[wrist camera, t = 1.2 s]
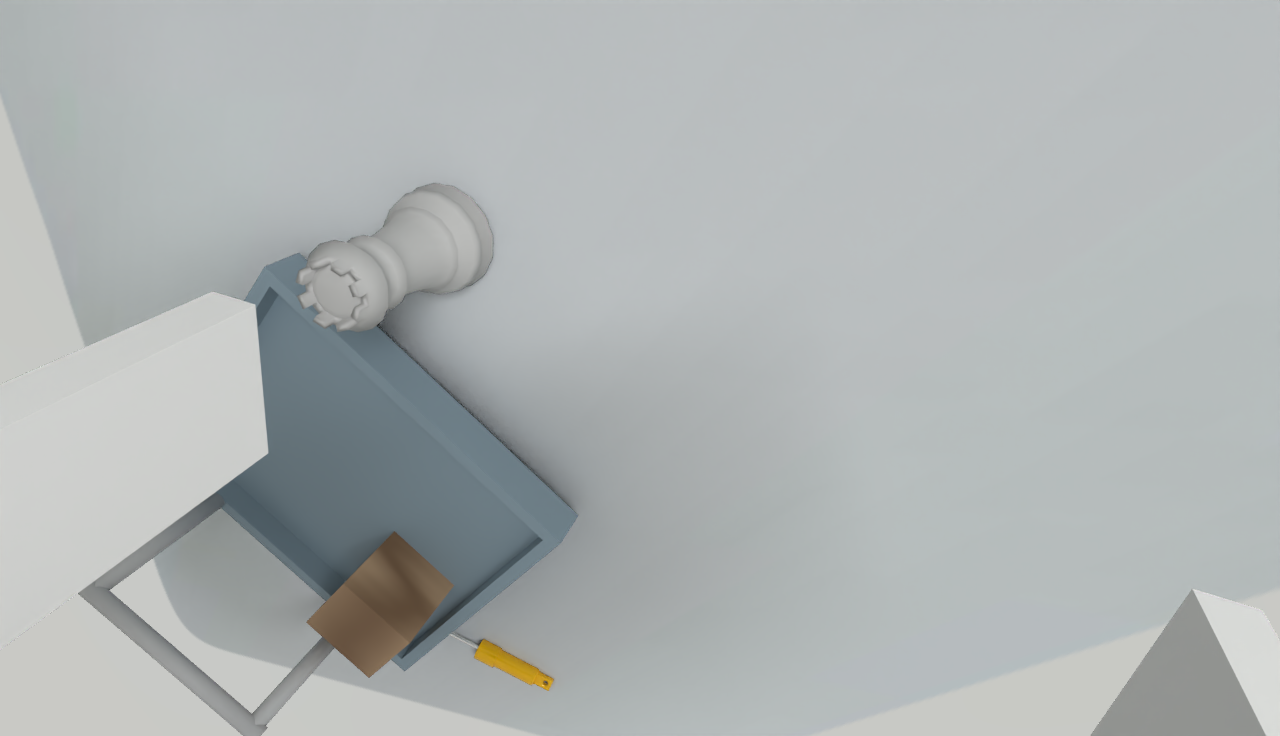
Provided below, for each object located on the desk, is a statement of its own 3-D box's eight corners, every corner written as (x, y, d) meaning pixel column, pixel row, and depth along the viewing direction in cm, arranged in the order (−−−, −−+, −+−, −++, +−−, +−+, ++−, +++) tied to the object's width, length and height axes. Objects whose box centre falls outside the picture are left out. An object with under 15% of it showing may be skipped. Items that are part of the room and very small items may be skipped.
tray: (313, 246, 34) (104, 332, 25) (585, 503, 36) (480, 670, 27) (202, 421, 41) (7, 538, 32) (434, 630, 43) (310, 797, 34)
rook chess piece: (436, 157, 31) (303, 200, 24) (518, 233, 31) (410, 298, 24) (386, 235, 33) (251, 295, 26) (463, 305, 33) (350, 383, 26)
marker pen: (302, 558, 44) (550, 686, 42) (289, 568, 43) (544, 699, 41) (314, 519, 43) (568, 648, 42) (301, 528, 42) (561, 661, 41)
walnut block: (357, 568, 40) (306, 622, 36) (394, 531, 38) (343, 584, 34) (414, 620, 40) (369, 677, 37) (454, 585, 38) (409, 643, 35)
